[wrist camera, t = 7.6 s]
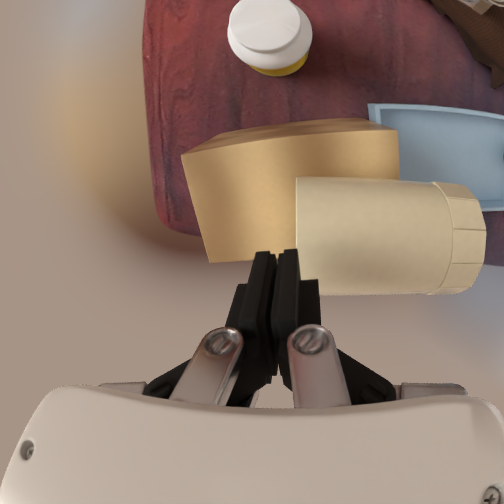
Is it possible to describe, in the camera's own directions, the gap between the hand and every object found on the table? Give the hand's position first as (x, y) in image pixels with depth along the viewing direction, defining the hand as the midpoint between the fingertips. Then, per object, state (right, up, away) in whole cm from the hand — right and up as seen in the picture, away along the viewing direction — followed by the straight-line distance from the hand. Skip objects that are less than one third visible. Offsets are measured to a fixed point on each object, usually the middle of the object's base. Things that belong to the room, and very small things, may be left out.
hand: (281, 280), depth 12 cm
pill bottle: (+1, +22, +12) cm, 25 cm away
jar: (+1, +2, +5) cm, 6 cm away
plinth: (+4, +11, +18) cm, 21 cm away
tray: (+23, +12, +13) cm, 29 cm away
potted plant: (+26, +33, +1) cm, 42 cm away
